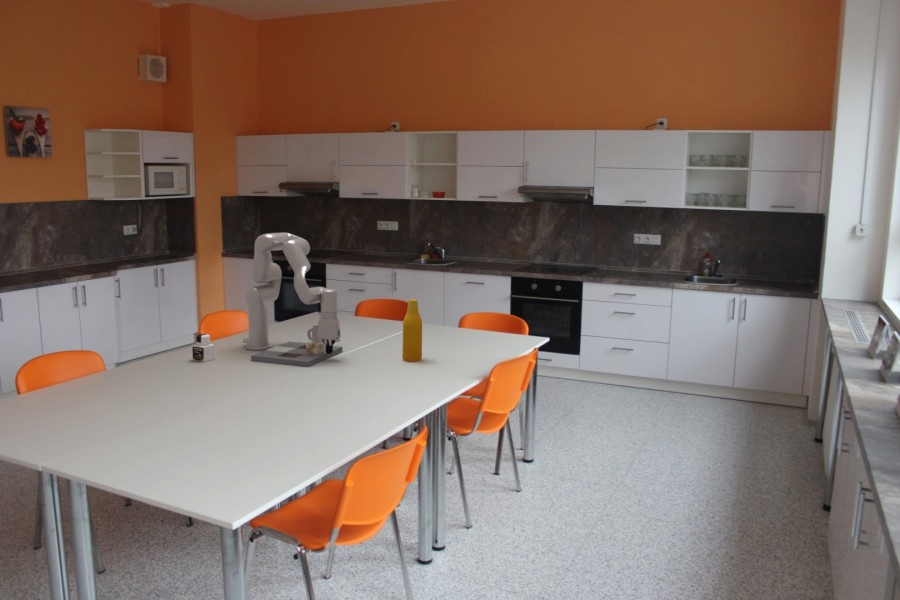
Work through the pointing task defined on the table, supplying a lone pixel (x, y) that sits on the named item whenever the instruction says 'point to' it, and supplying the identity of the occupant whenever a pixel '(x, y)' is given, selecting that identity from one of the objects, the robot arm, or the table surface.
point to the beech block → (314, 348)
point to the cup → (314, 334)
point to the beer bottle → (412, 333)
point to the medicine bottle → (203, 349)
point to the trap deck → (293, 355)
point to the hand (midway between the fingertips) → (329, 353)
